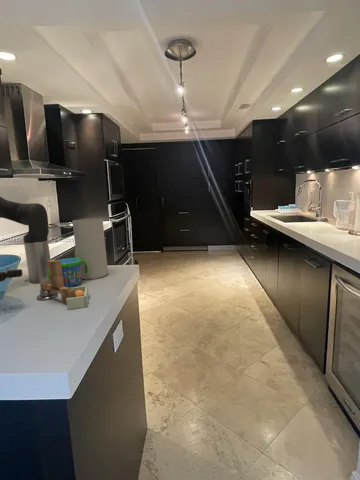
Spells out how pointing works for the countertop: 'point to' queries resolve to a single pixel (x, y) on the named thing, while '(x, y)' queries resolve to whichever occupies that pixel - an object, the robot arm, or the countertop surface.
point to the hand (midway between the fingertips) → (21, 272)
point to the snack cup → (71, 271)
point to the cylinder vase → (91, 247)
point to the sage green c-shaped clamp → (78, 299)
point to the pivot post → (46, 295)
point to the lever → (57, 281)
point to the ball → (79, 293)
